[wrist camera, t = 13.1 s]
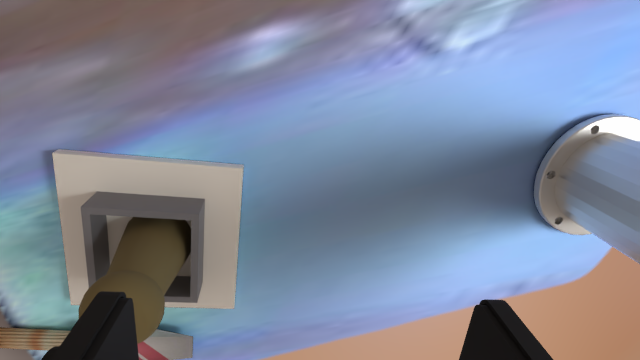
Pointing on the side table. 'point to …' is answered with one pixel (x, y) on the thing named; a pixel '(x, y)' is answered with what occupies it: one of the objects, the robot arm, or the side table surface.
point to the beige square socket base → (150, 202)
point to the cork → (145, 268)
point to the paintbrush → (151, 351)
